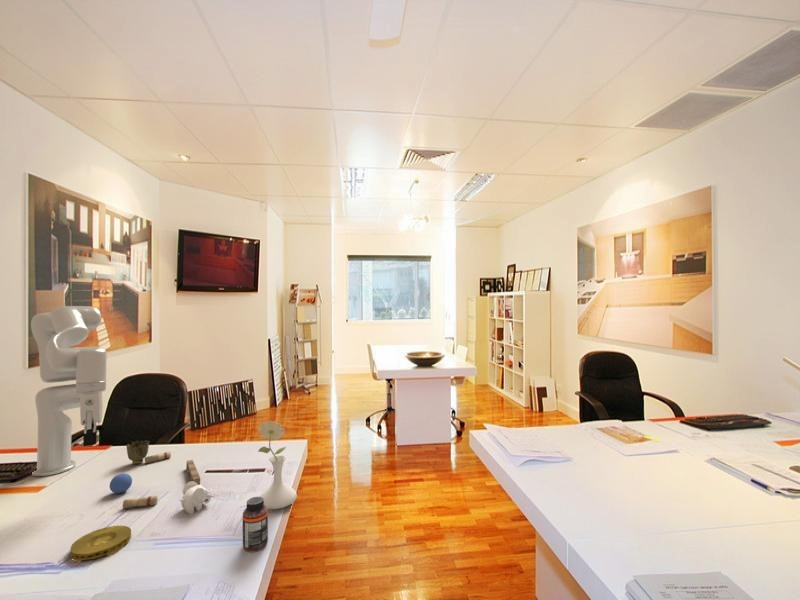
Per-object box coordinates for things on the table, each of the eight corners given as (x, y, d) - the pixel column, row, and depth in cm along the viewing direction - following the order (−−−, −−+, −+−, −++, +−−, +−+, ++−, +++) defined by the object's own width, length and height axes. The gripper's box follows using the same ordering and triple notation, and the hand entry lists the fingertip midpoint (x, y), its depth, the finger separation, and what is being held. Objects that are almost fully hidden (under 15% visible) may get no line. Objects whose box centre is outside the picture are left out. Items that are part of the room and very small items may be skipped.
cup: (137, 467, 144) (137, 446, 144) (121, 466, 145) (121, 445, 146) (153, 460, 151) (153, 440, 151) (138, 459, 153) (138, 439, 153)
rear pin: (146, 464, 147) (170, 457, 153) (145, 457, 147) (170, 451, 153) (144, 463, 149) (169, 457, 155) (144, 456, 149) (169, 451, 155)
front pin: (125, 509, 114) (156, 504, 116) (121, 508, 112) (154, 504, 114) (126, 499, 115) (158, 495, 117) (123, 499, 113) (155, 495, 115)
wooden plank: (186, 468, 142) (186, 460, 142) (192, 467, 143) (192, 459, 144) (193, 488, 126) (193, 479, 126) (200, 486, 127) (200, 477, 127)
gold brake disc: (61, 569, 87) (61, 559, 87) (81, 540, 98) (81, 532, 98) (124, 555, 92) (124, 546, 92) (136, 529, 103) (136, 521, 103)
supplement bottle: (246, 539, 97) (247, 494, 97) (270, 537, 97) (270, 493, 98) (238, 554, 91) (239, 506, 91) (264, 552, 91) (264, 505, 92)
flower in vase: (304, 497, 119) (304, 418, 120) (281, 516, 108) (281, 428, 109) (270, 492, 123) (270, 414, 124) (245, 509, 112) (245, 424, 113)
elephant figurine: (217, 506, 114) (218, 482, 114) (182, 519, 107) (183, 493, 107) (208, 498, 119) (208, 475, 120) (174, 509, 112) (174, 485, 113)
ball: (136, 472, 128) (130, 491, 127) (116, 471, 126) (110, 490, 125) (132, 475, 123) (126, 495, 121) (110, 474, 121) (104, 495, 119)
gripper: (104, 389, 117) (103, 448, 116) (107, 382, 129) (106, 436, 128) (72, 392, 113) (71, 454, 112) (78, 385, 125) (77, 441, 124)
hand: (90, 444), depth 120 cm, fingers closed
